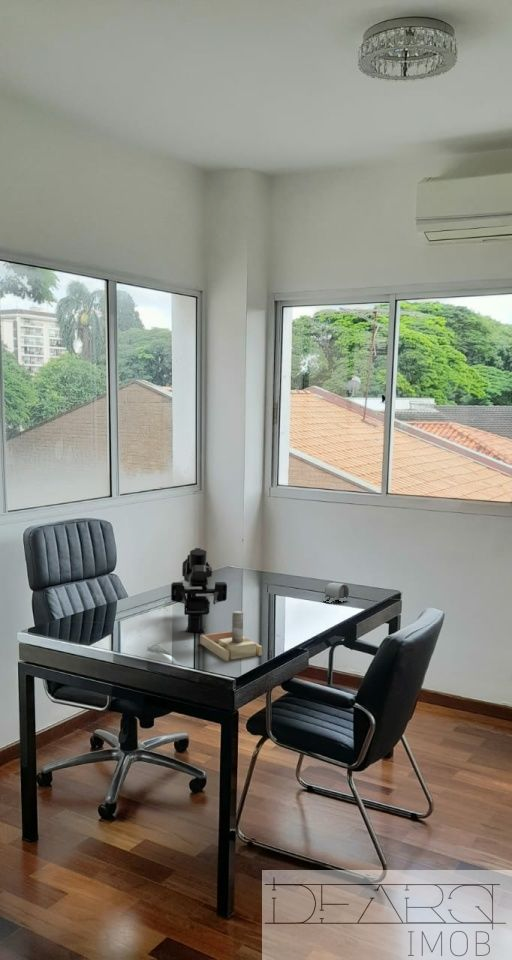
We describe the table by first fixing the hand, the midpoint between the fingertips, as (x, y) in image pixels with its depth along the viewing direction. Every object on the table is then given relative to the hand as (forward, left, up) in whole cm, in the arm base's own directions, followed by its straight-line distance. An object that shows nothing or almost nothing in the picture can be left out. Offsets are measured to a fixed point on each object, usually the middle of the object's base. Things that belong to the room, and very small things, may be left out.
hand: (200, 603), depth 256 cm
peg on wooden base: (+3, +13, -15) cm, 20 cm away
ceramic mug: (-74, +50, -17) cm, 91 cm away
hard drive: (-1, -10, -17) cm, 20 cm away
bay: (-1, +10, -16) cm, 19 cm away
